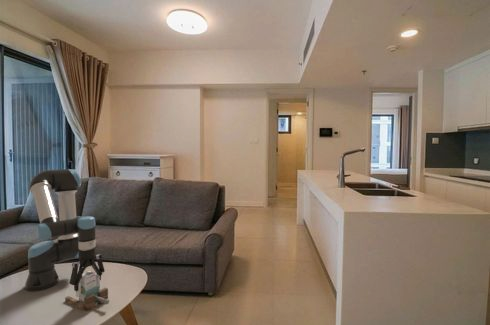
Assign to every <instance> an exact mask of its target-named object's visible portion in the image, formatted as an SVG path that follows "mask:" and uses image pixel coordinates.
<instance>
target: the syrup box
mask: <svg viewBox="0 0 490 325" xmlns="http://www.w3.org/2000/svg"><path fill="white" fill-rule="evenodd" d="M95 275H96V272H95V271H90V270H85V271H84V272H83V275H82V277H81V279H80V282H79V283H80V284H81V297H78V301H81V302H83V303H84V298H85V297H84V292H85V291H88V290H90V289H92V288H94V287H96V277H95Z"/></svg>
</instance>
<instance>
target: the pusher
mask: <svg viewBox="0 0 490 325" xmlns="http://www.w3.org/2000/svg"><path fill="white" fill-rule="evenodd" d="M100 287H101V285H100V286H99V285H98V286H96V287H94V288H92V289H90V290H88V291H85V292H84V297H87V296H89V295H91V294H94V295H95V303H96V302H98V300H99V301H102V302H103V304H104V305H109V303H110V299H109V298H108V299H103V298H101V297H99V296H98V291H99V290H101V289H100Z"/></svg>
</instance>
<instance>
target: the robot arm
mask: <svg viewBox="0 0 490 325" xmlns="http://www.w3.org/2000/svg"><path fill="white" fill-rule="evenodd" d="M29 182H30V184H29V193H30V194H31V195H32V196H33V198H34V202H35V207H36V212H37V214H38V220H39V224H37V225H36V236H37V239H38V240H42V241H41V242H37V243H35V244H33V245H31V246H30V247H29V249H28V250H27V252H28V254H27V259H28V275H27V279H26V280H25V284H24V287H25V290H26V291H29V292H38V291H42V290H46V289H49V288H51V287H53V286H56V284H58V283H59V280H60V279H59V275H58V273H57V271H56V268H55V265H56V264H57V263H61V262H62V263H63V262H65V261H70V260H74V259H77V258H78V261H76V262H73V263H72V264H71V266H72V268H71V274H70V279H69V284H70V285H71V286H73V289H74V290H73V291H74V292H75V297H77V298H79V297H81V284H80V283H79V282H80V279H81V277H82V275H83V272H85V271H86V269H87V268H88V267H91V268H92V269H93V270H94V273H95V277H96V286H98V285H99V286H100V287H101V283H100V282H101V280H102V275H103V273H105V271H106V270H105V266H104V263H103V259H102V258H103V257H102V254H100V253H97V249H96V248H97V247H96V245H97V244H96V243H97V242H96V241H97V240H96V217H94V216H91V215H89V216H88V215H87V216H79V215H78V216H77V206H76V204H77V203H76V193H77V192H78V190H79V188H80V187H81V183H82V182H81V176H80V173H79V172H78V170H76V169H73V168H71V169H70V168H66V169H50V170H49V169H47V170H42V171H40V172H38V173H36V174H35V175H34V176H33V178H31V180H30V181H29ZM53 190H54V193H55V194H56V195H57V199H58V200H57V202H58V212H57V209H56V207H55V203H54V200H53V199H54V198H53V196H52V192H51V191H53ZM57 237H58V238H57ZM52 238H57V242H54V240H51V239H52ZM47 239H50V240H47ZM43 240H44V241H43ZM95 261H96V262H97V264H96V262H95Z"/></svg>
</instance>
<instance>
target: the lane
mask: <svg viewBox="0 0 490 325" xmlns="http://www.w3.org/2000/svg"><path fill="white" fill-rule="evenodd" d="M98 296H99V297H101V298H103V299H109V289H108V287H104V288H101V289H100V290H99V291H98ZM64 301H65V302H66V303H68V304H70V305H73V306H75V307H77V308H79V309H81V310H83V311H85V312H88V311H90V310H92V309H95V308H96V302H95V295H94V294H91V295H89V296H87V297H85V298H84V303H83V302H81V301H79V299H76V298H75V297H74V298H73V297H71V296H69V295H67V296H65V297H64ZM97 303H98V304H99V305H101V304H104V302H102V301H99V300H97Z"/></svg>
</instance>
